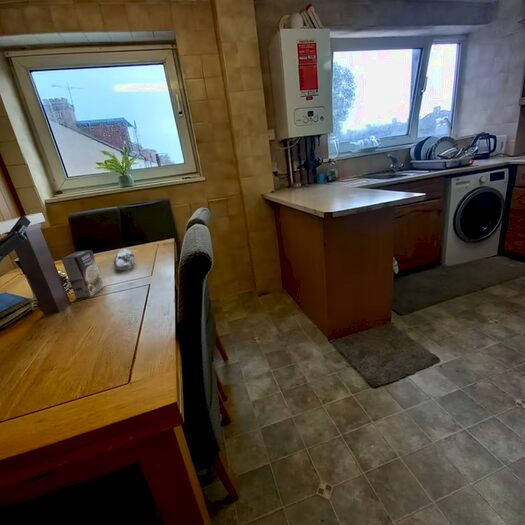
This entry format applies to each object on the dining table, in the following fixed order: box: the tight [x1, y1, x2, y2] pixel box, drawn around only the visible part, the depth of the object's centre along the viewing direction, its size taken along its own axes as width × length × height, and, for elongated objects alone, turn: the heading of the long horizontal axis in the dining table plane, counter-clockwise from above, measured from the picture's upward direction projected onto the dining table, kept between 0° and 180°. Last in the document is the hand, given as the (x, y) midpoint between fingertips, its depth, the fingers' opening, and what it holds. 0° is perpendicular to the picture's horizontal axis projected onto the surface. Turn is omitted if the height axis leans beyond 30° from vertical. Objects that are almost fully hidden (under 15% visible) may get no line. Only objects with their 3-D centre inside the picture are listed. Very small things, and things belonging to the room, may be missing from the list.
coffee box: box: [60, 249, 105, 299], centre depth 107 cm, size 9×6×16 cm
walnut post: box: [3, 223, 72, 315], centre depth 94 cm, size 7×7×30 cm
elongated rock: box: [113, 248, 135, 271], centre depth 143 cm, size 35×5×10 cm
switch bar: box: [0, 212, 46, 235], centre depth 86 cm, size 3×20×3 cm, turn 0°
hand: (4, 221), depth 83 cm, fingers open, 13 cm apart
